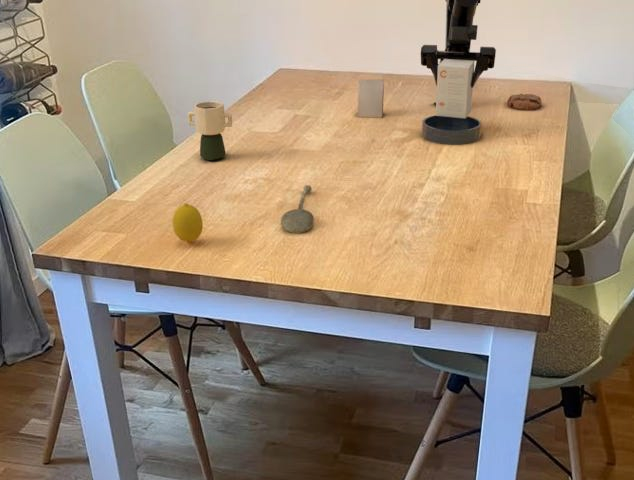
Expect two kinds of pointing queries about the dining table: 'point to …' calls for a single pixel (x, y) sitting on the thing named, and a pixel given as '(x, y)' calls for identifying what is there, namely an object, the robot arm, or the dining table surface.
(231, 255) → the dining table surface
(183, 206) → the lemon
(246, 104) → the dining table surface
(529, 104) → the cookie
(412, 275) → the dining table surface
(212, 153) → the character mug
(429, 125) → the dish
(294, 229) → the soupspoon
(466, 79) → the small box
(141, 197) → the dining table surface
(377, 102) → the grey rectangular block
